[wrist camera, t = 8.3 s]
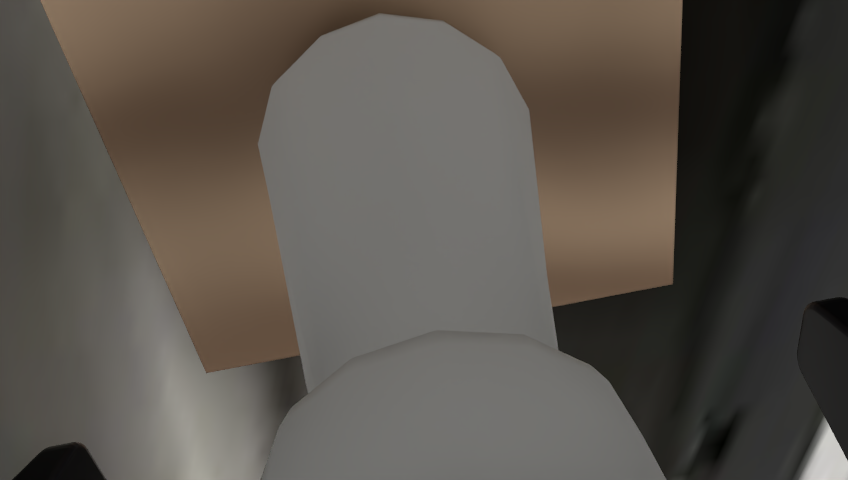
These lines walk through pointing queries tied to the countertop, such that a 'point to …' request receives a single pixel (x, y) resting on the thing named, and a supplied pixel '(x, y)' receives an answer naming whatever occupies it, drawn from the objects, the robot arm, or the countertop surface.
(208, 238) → the walnut board
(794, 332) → the countertop surface
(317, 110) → the salt shaker
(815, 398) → the robot arm
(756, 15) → the countertop surface
